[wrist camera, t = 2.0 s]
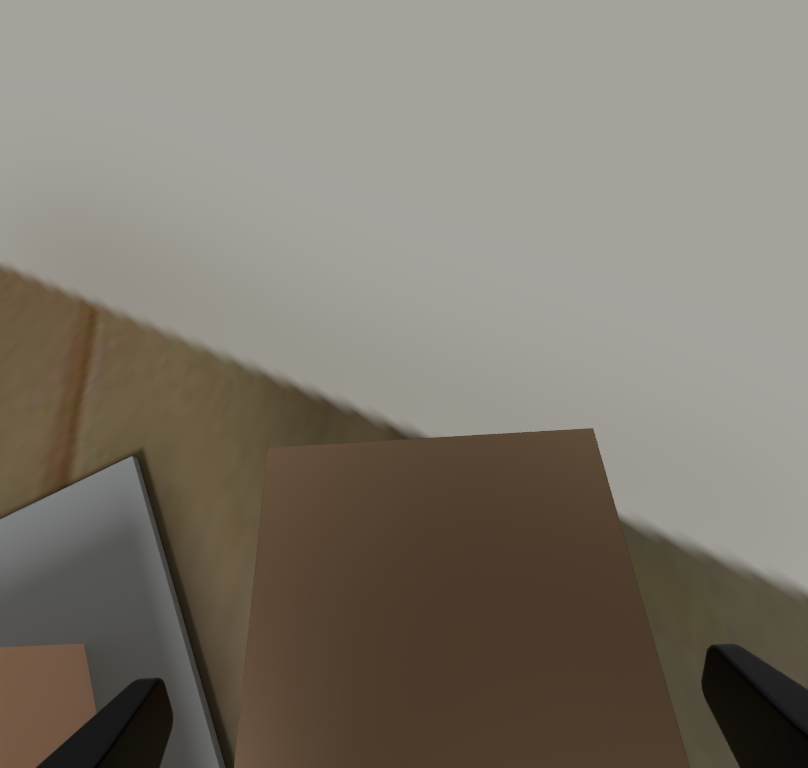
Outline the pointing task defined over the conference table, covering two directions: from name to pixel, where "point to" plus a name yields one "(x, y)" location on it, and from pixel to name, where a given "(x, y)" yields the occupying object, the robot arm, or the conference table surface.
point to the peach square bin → (41, 700)
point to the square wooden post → (449, 612)
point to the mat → (106, 598)
